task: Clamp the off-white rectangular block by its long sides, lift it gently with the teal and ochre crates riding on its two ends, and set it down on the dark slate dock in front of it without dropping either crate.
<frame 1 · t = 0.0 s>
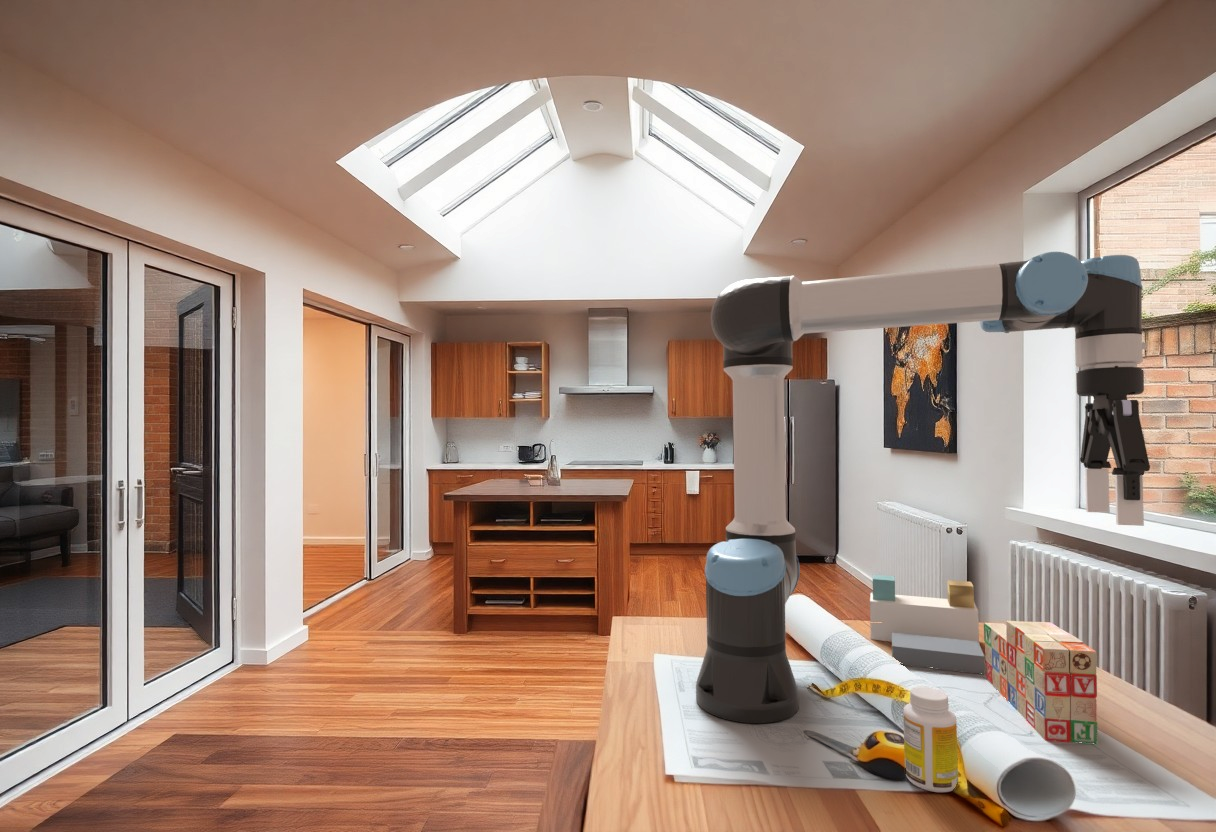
hand: (1112, 518, 91), 28 cm above the table, tool pointing down, fingers open, 13 cm apart
ochre crate: (960, 604, 122), point 7 cm above the table, touching off-white rectangular block
off-white rectangular block: (922, 640, 125), on the table, touching ochre crate
teal crate: (884, 597, 127), point 7 cm above the table
supplement bottle: (930, 783, 75), on the table
dock: (935, 660, 113), on the table
stack of blocks: (1035, 710, 94), on the table
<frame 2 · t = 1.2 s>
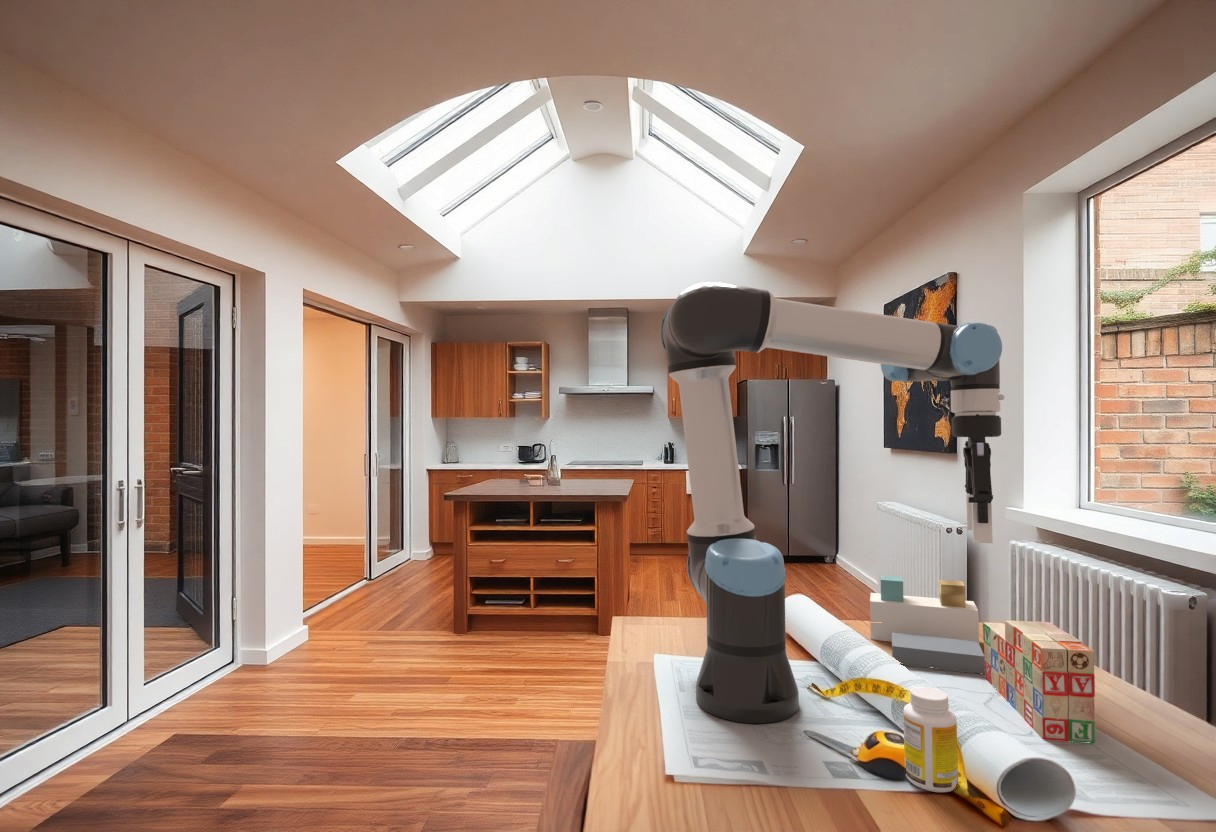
hand: (979, 536, 112), 22 cm above the table, tool pointing down, fingers open, 13 cm apart
ochre crate: (952, 603, 123), point 7 cm above the table
off-white rectangular block: (922, 640, 125), on the table, touching teal crate
teal crate: (892, 598, 127), point 7 cm above the table, touching off-white rectangular block
everything else where it was.
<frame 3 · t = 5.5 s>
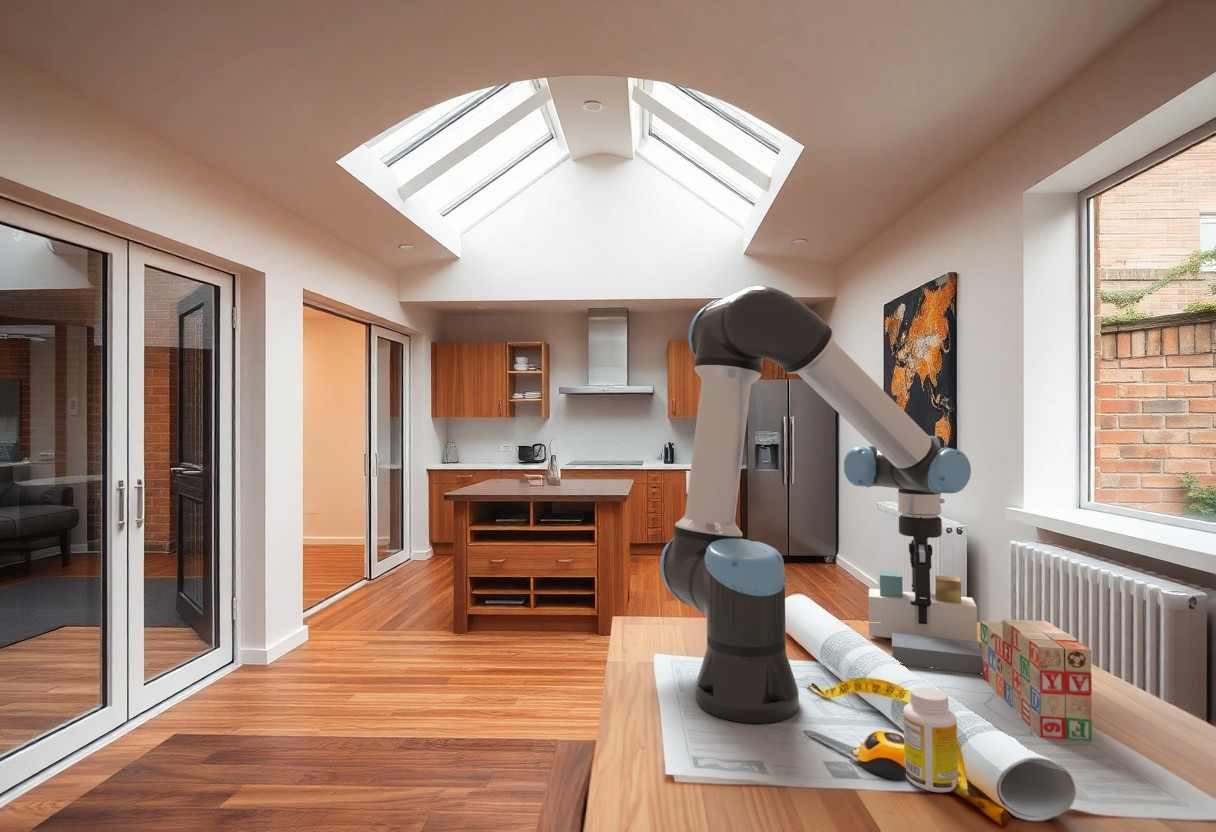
hand: (921, 633, 125), 1 cm above the table, tool pointing down, fingers closed on off-white rectangular block, 7 cm apart
ochre crate: (948, 599, 123), point 8 cm above the table, touching off-white rectangular block
off-white rectangular block: (920, 636, 125), point 1 cm above the table, touching gripper, ochre crate, teal crate
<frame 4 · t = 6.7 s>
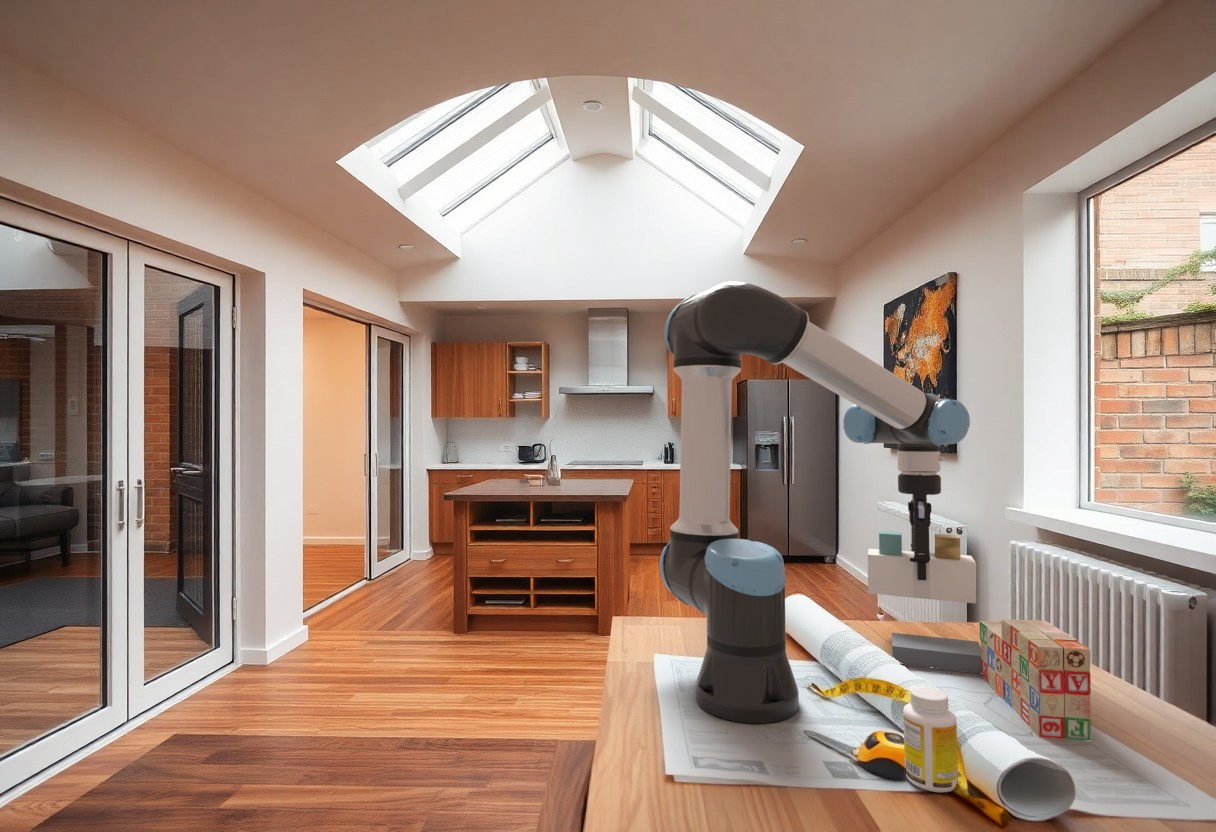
hand: (920, 591, 125), 9 cm above the table, tool pointing down, fingers closed on off-white rectangular block, 7 cm apart
ochre crate: (947, 557, 123), point 16 cm above the table, touching off-white rectangular block
off-white rectangular block: (919, 593, 125), point 9 cm above the table, touching gripper, ochre crate, teal crate
teal crate: (890, 553, 127), point 16 cm above the table, touching off-white rectangular block
everything else where it was.
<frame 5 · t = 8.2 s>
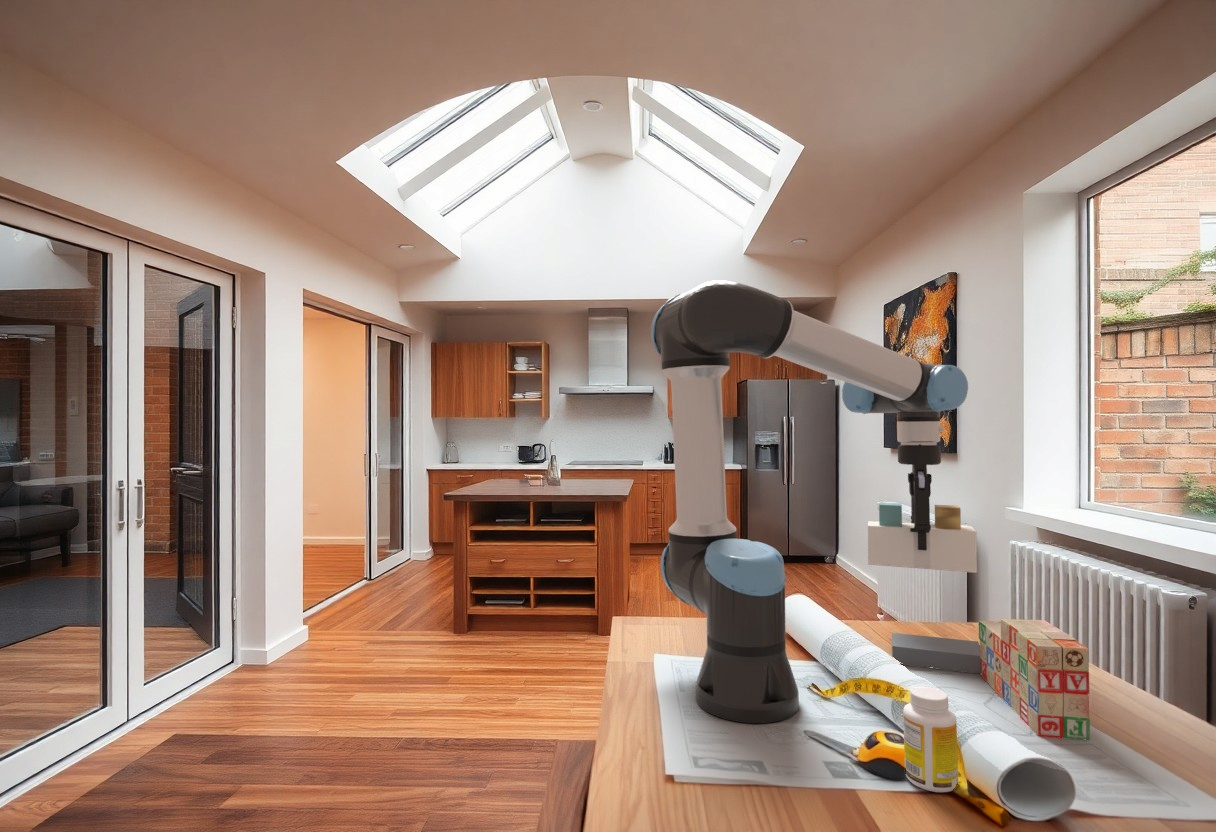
hand: (920, 562, 124), 15 cm above the table, tool pointing down, fingers closed on off-white rectangular block, 7 cm apart
ochre crate: (947, 527, 123), point 22 cm above the table, touching off-white rectangular block
off-white rectangular block: (919, 564, 124), point 14 cm above the table, touching gripper, ochre crate, teal crate
teal crate: (890, 524, 126), point 22 cm above the table, touching off-white rectangular block
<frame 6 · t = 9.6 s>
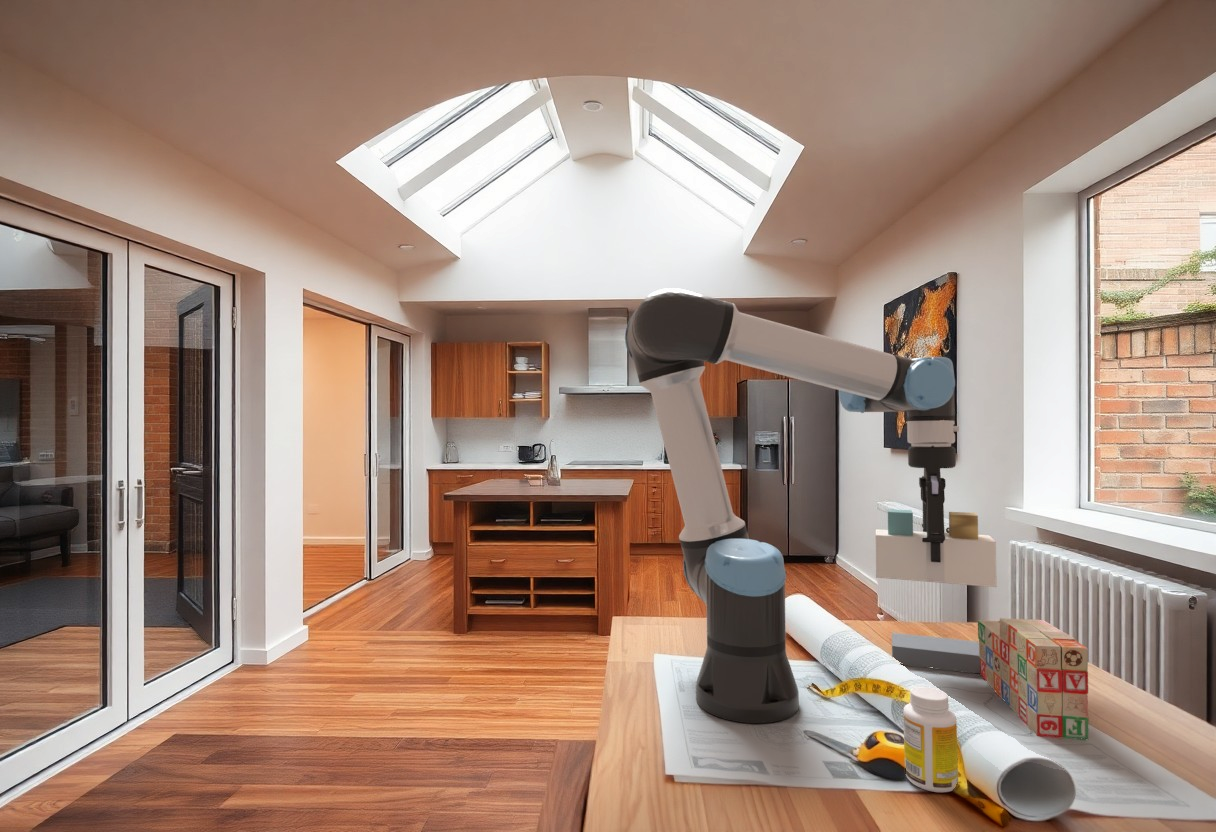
hand: (933, 575, 113), 15 cm above the table, tool pointing down, fingers closed on off-white rectangular block, 7 cm apart
ochre crate: (963, 536, 112), point 22 cm above the table, touching off-white rectangular block
off-white rectangular block: (932, 577, 113), point 14 cm above the table, touching gripper, ochre crate, teal crate
teal crate: (900, 533, 116), point 22 cm above the table, touching off-white rectangular block
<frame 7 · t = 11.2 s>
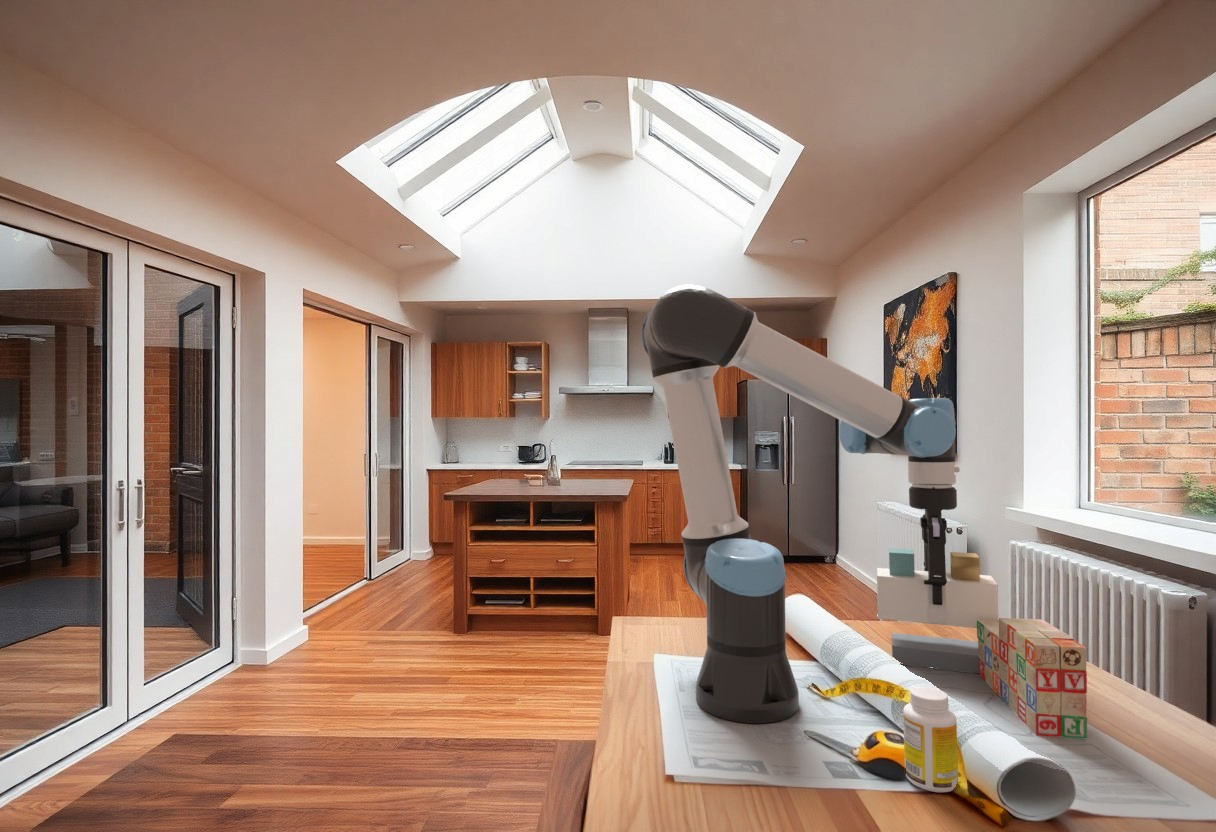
hand: (935, 616, 113), 8 cm above the table, tool pointing down, fingers closed on off-white rectangular block, 7 cm apart
ochre crate: (965, 578, 111), point 15 cm above the table, touching off-white rectangular block
off-white rectangular block: (934, 618, 113), point 7 cm above the table, touching gripper, ochre crate, teal crate
teal crate: (901, 573, 115), point 15 cm above the table, touching off-white rectangular block
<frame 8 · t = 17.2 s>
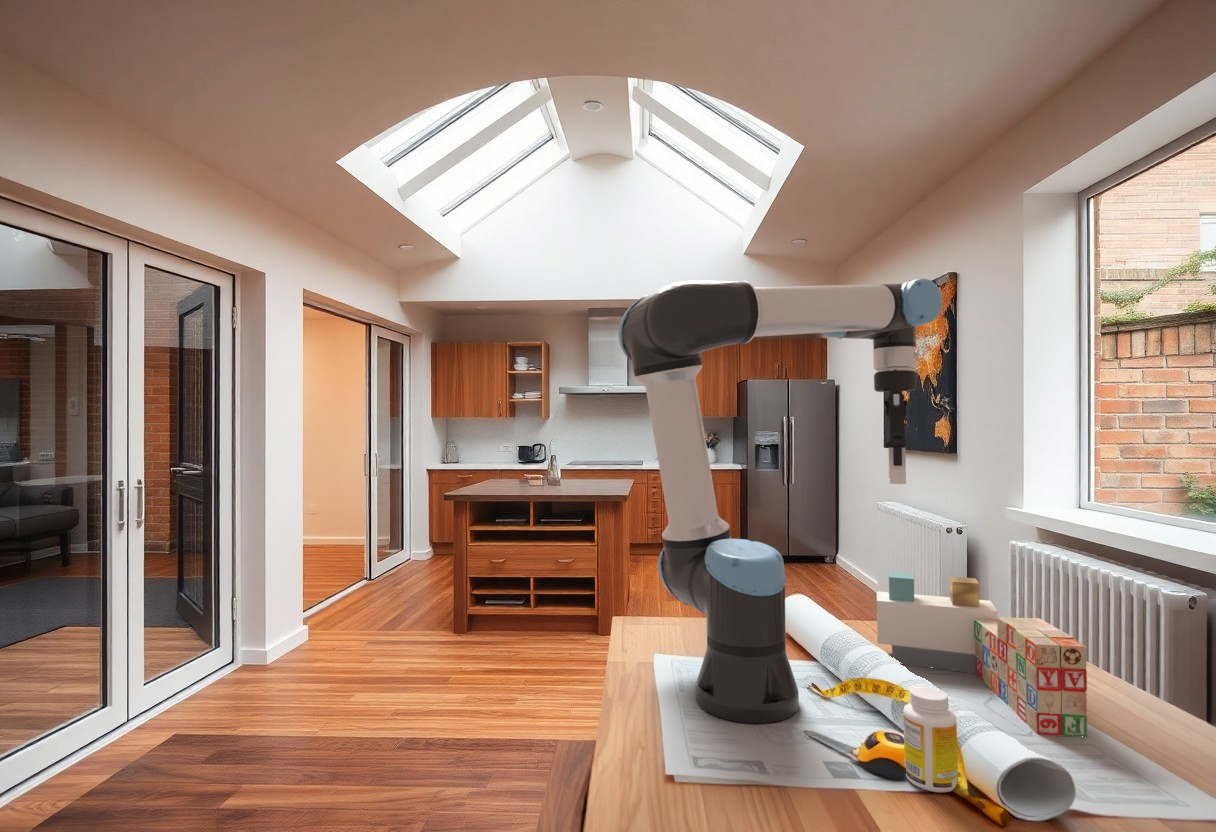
hand: (897, 481, 124), 31 cm above the table, tool pointing down, fingers open, 13 cm apart
ochre crate: (964, 603, 111), point 10 cm above the table, touching off-white rectangular block
off-white rectangular block: (934, 643, 113), point 3 cm above the table, touching dock, ochre crate, teal crate
teal crate: (901, 598, 115), point 10 cm above the table, touching off-white rectangular block
at the end: off-white rectangular block inside the target area (0.2 cm from its centre), point 3.0 cm above the table; teal crate inside the target area on the off-white rectangular block (5.1 cm from its centre), point 7.5 cm above the off-white rectangular block's base; ochre crate inside the target area on the off-white rectangular block (4.8 cm from its centre), point 7.5 cm above the off-white rectangular block's base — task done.
